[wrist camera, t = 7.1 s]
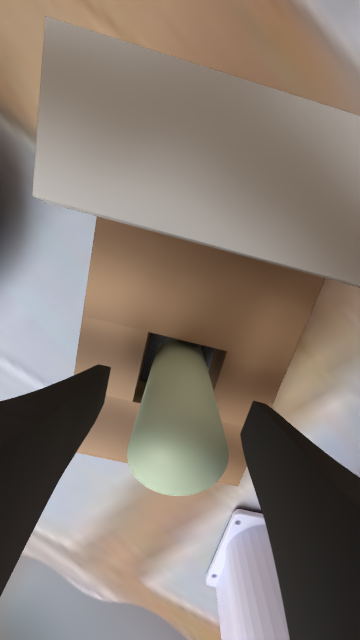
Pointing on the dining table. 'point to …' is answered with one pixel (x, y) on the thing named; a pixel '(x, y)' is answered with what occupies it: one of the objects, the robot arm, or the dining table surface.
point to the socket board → (190, 315)
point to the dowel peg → (178, 424)
